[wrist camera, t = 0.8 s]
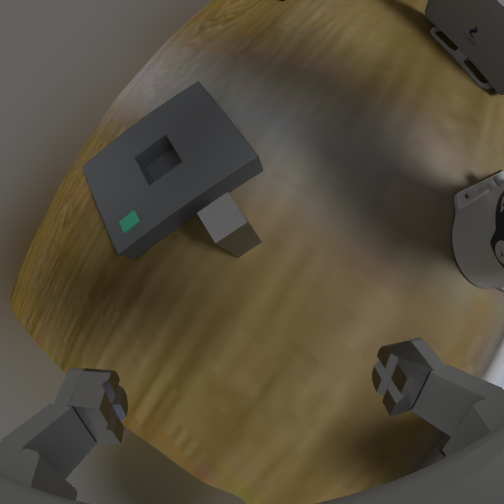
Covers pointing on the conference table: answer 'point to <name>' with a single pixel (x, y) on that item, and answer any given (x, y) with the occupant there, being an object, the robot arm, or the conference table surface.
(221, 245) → the peg
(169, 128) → the docking mount
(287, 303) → the conference table surface
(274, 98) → the conference table surface
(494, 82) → the network device
